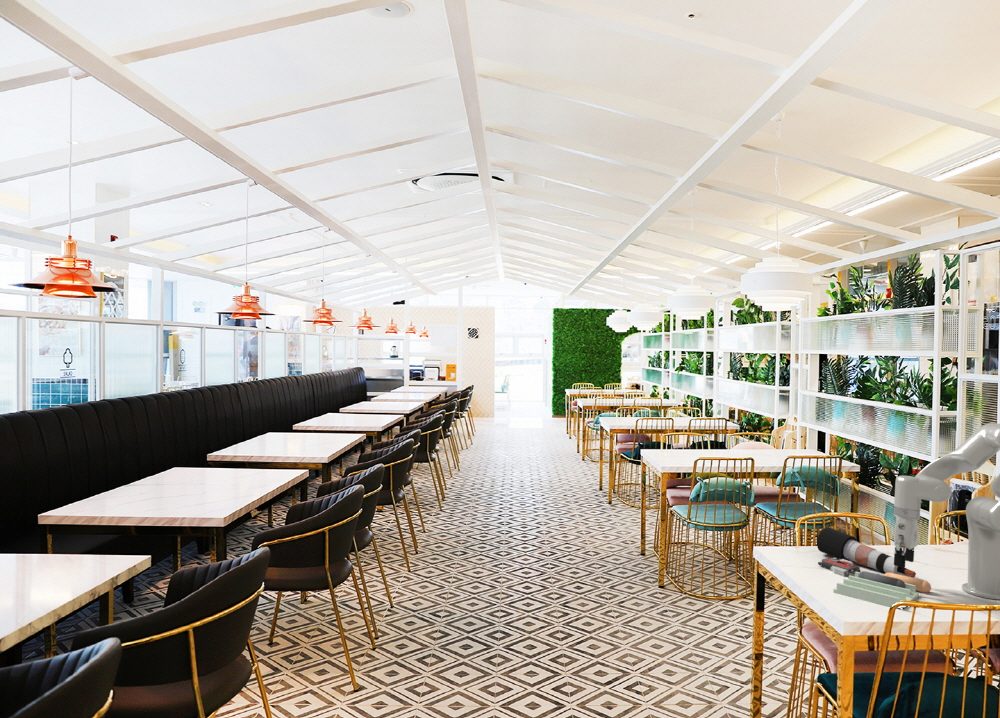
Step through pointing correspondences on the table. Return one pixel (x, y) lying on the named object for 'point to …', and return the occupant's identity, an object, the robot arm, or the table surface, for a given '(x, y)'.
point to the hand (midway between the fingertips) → (903, 563)
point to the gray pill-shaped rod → (882, 579)
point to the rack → (875, 591)
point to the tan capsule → (912, 582)
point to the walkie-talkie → (840, 566)
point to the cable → (857, 552)
